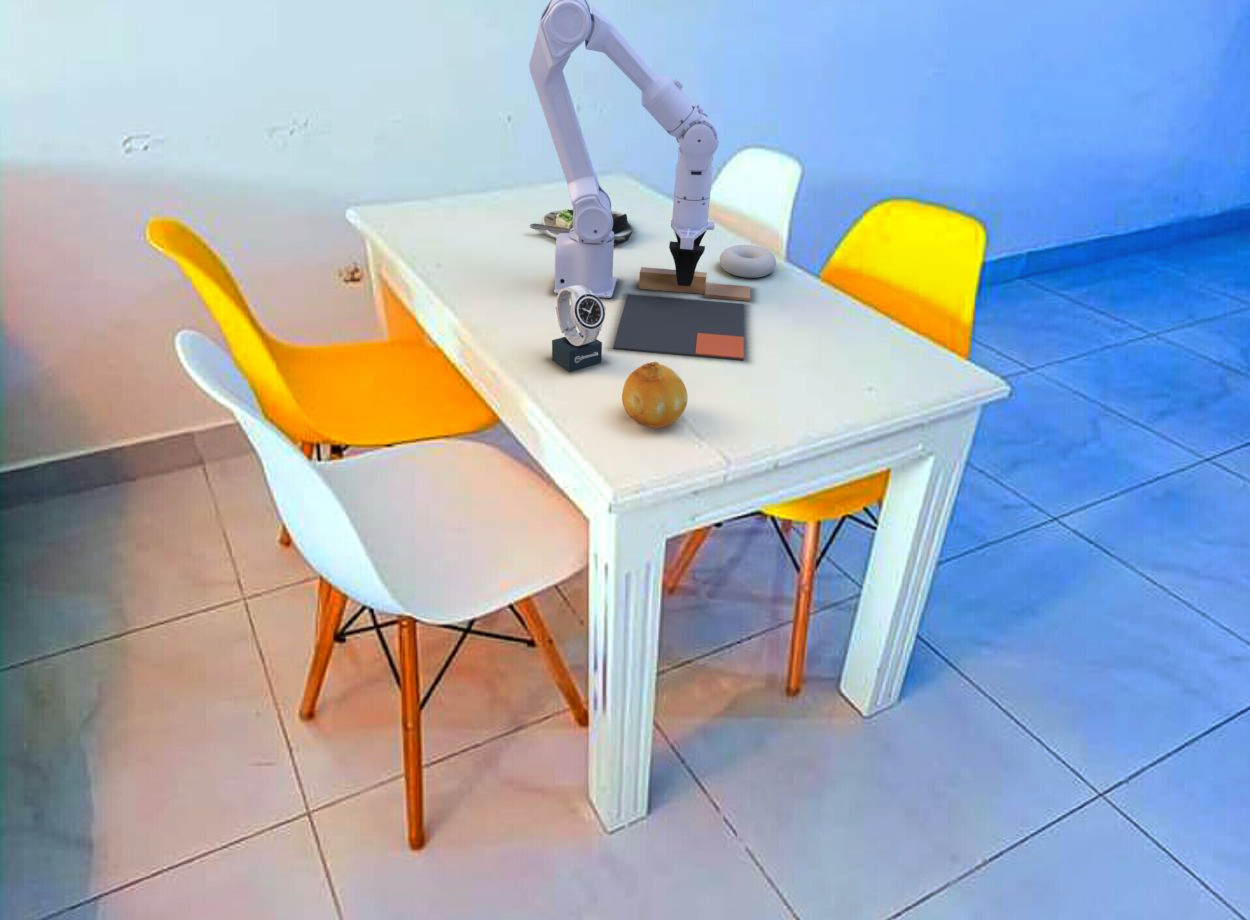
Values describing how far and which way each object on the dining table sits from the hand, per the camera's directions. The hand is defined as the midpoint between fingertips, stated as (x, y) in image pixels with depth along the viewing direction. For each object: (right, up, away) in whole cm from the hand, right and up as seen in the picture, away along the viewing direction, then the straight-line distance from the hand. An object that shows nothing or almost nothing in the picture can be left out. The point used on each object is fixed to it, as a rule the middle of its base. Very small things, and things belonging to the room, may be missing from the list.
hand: (685, 276), depth 152 cm
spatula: (+1, -2, +1) cm, 3 cm away
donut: (+12, +3, +10) cm, 16 cm away
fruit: (-6, -25, -35) cm, 44 cm away
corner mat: (-1, -10, -11) cm, 15 cm away
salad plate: (-17, +13, +23) cm, 31 cm away
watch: (-17, -17, -22) cm, 33 cm away
